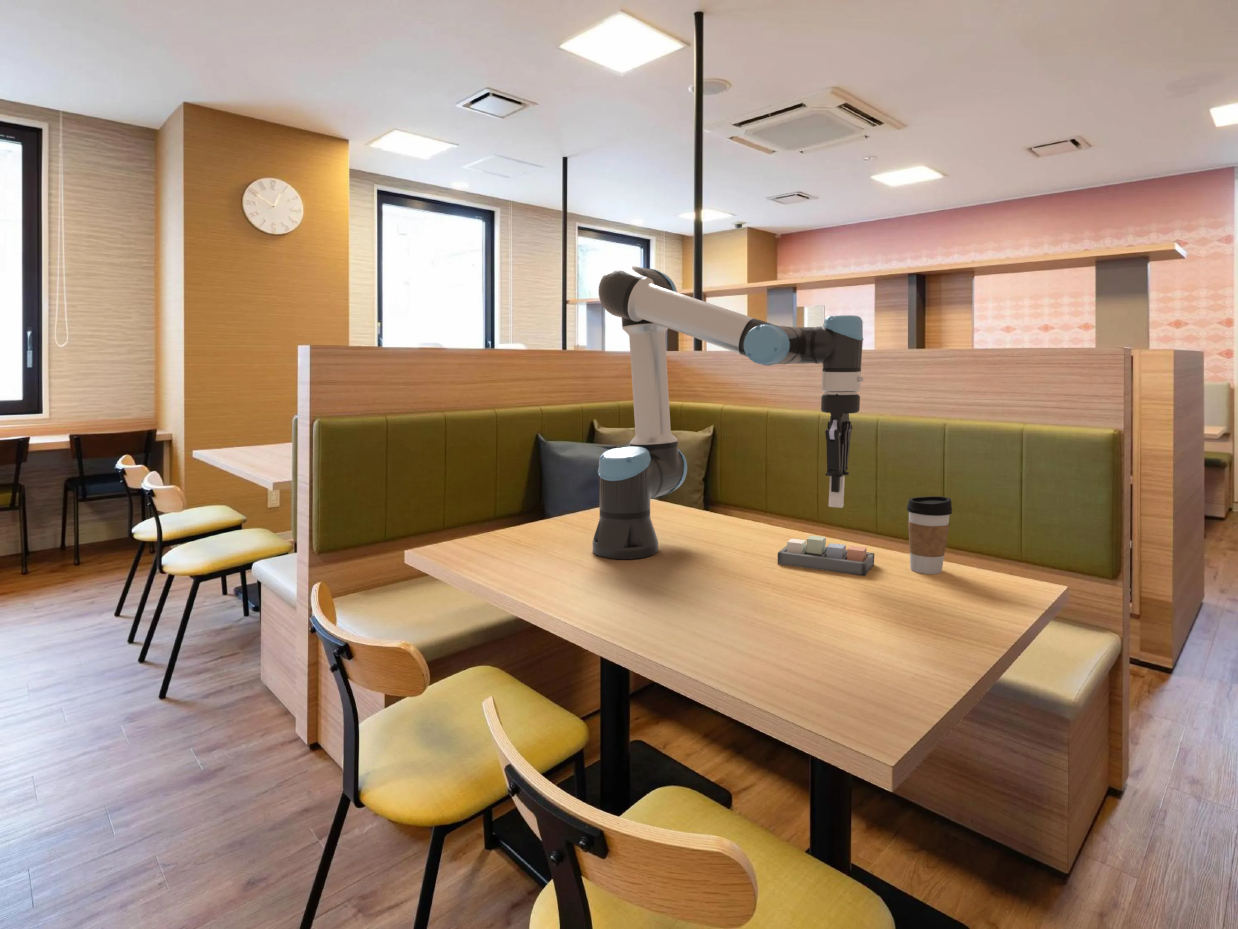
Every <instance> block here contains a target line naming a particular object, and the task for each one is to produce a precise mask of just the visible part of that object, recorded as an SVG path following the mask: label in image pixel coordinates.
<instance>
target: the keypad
mask: <svg viewBox="0 0 1238 929" xmlns="http://www.w3.org/2000/svg"><path fill="white" fill-rule="evenodd" d="M806 548H807V544H806ZM826 551H827V546H826V548H825V552H824V553H823V554H814V553H806V550H805V551H804V552H803V553H801V554H799V553H791V552H787V545H785V546H784V547H783V548H782V549H780V550H779V551H778V552H777V565H782V566H790V567H797V568H804V569H811V570H819V571H824V572H825V571H826V572H833V573H840V574H847V575H854V576H862V577H866V575H867V574H868V573H869V572H870V571H871V569H872V568H873V567H874V565H875V553H874V552H868V551H866V559H865V560H864V561H863V562H861V561H853V560H847V549H846V555H845V556H844V557H843V558H842V559H838V558H830V557H826Z"/></svg>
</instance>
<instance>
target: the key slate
mask: <svg viewBox="0 0 1238 929" xmlns="http://www.w3.org/2000/svg"><path fill="white" fill-rule="evenodd" d="M846 546H847V545H846V544H840V543H834V542H833V543H832V542H830V543H828V545H826V547H827V551H826V557H830V558H838V559H842V558H843V557H844V556H845V555H846V550H847V549H846Z"/></svg>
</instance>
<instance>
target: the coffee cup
mask: <svg viewBox="0 0 1238 929" xmlns="http://www.w3.org/2000/svg"><path fill="white" fill-rule="evenodd" d="M906 511H908V520H907V525H908V526H907V527H908V543H909V544H908V546H909V563H910V564H909V567H910V570H911V571H912V572H915V573H918V574H922V575H923V574H924V575H938V574H941V573H942V571H943V566H944V558H945V555H946V554H945V553H946V546H947V542H948V541H947V540H948V534H949V528H950V522H949V521H950V515H951V514H953V508H952V499H951V497H946V496H938V495H936V496H933V495H932V496H917V497H916V496H915V497H911V498H908V502H907V505H906Z"/></svg>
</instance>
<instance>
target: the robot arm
mask: <svg viewBox="0 0 1238 929" xmlns="http://www.w3.org/2000/svg"><path fill="white" fill-rule="evenodd" d="M598 299H599V301H600V303H601V305H602V307H603V308H604V309H605V311H607V313H609V314H611V315H612V316H614V317H617V318H621V328H622V330H623V331H625V333H626V334H628V336H629V337H628V338H629V340H628V341H629V352H630V354H629V355H630V368H631V369H630V370H631V371H630V372H631V385H632V401H633V403H632V404H633V416H634V429H635V430H634V432H635V435H634V436H633V438H632V439H631V440H630V442H629V446H622V447H616V448H615V447H614V448H611V449H608V450H606V451H604V452H603V453H602V454H601V455H600V456H599V460H598V469H597V474H598V493H599V494H598V495H599V496H598V500H599V501H598V502H599V504H598V505H599V506H598V507H599V519H598V523H597V526H596V529H595V532H594V534H593V535H594V536H593V539H592V552H593V554H595V555H596V556H598V557H602V558H606V559H612V560H613V559H614V560H633V559H634V560H635V559H642V558H648V557H651V556H653V555H656V554H657V553H658V551H659V540H658V536H657V534H656V530H655V528H654V524H653V522H652V518H651V500H652V499H655V498H658V497H661V496H666V495H668V494H671V493H672V492H674V491H676V490H677V489H679V488H680V487H681V485H682V484H683V483H684V482H685V480H686V476H687V474H688V463H687V459H686V457H685V455H684V454H683V453H682V451H681V450H680V448H679V444H678V443H679V441H678V438H677V437H676V436H675V435H674V434H672V432H671V431H672V429H671V416H670V412H671V410H670V397H669V396H670V395H669V381H668V380H669V379H668V378H669V377H668V363H667V359H668V358H667V347H666V346H667V345H666V344H667V343H666V332H667V331H668V330H672V331H674V332H678V333H680V334H683V335H685V336H690V337H691V338H692V337H693V338H695V339H697V340H700V341H702V342H706V343H709V344H711V345H714V346H717V347H719V348H723V349H725V350H728V351H730V352H734V353H735V354H736V353H737V354H739V355H742V356H744V357H746V358H748V359H749V360H750V361H751V362H753V363H755V364H757V365H762V366H773V365H791V364H792V365H794V364H795V365H798V364H800V365H801V364H816V365H817V364H822V368H821V369H822V373H821V391H822V392H824V393H822V395H821V398H820V399H821V400H820V410H821V412H822V413H827V414H830V417H829V421H827V427H826V428H827V429H825V432H824V434H825V440H826V472H825V476H826V477H829V488H828V507H830V508H839V509H843V507H845V506H844V505H845V503H844V502H845V498H844V497H845V481H846V480H845V479H846V476H849V475H850V472H849V471H848V468H849V467H848V466H849V456H850V446H851V436H852V431H853V425H852V421H850V414H856V413H857V414H858V413H859V412H860V409H861V408H860V405H861V404H860V403H861V395H860V394H857V393H858V392H860V391H861V383H862V382H864V380H865V378H864V376H862V375H861V374H862V358H863V357H862V356H863V344H864V334H863V333H864V332H863V331H864V330H863V326H864V325H863V324H864V321H863V319H862V318H861V317H860V316H858V315H852V314H851V315H850V314H849V315H847V314H846V315H829V316H826V317H825V318H824V320H823V322H824V323H823V325H820V326H806V327H805V326H804V327H803V326H801V327H800V326H785V325H777V324H773V323H770V322H767V321H764V320H761V319H757V318H754V317H751V316H748V315H746V314H742V313H739V312H737V311H733V310H731V309H728V308H726V307H725V308H724V307H721V306H718V305H715V304H713V303H709V302H706V301H703V300H700V299H698V298H694V297H692V296H689V295H685V294H683V293H679V292H678V290H677V287H676V285H675V283H674V281H673V280H672V278H670V276H668V275H667V274H666V273H664V272H661V271H659V270H657V269H654V268H644V267H641V266H635V265H629V264H621V265H616V266H614V267H611V268H610V269H609V270H607V271H606V272H605V273H604V274H603V275H602V278H601V279H600V282H599V284H598Z"/></svg>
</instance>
